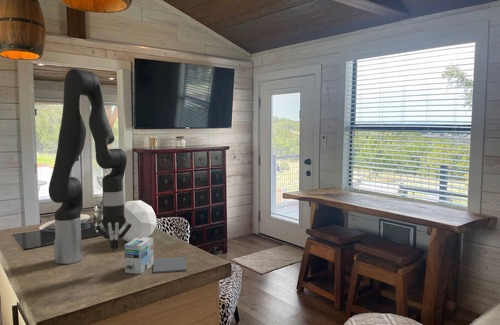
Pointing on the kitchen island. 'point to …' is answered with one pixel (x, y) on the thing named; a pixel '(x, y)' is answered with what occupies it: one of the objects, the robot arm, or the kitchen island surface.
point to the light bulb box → (139, 255)
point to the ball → (138, 220)
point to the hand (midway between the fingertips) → (114, 249)
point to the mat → (169, 265)
